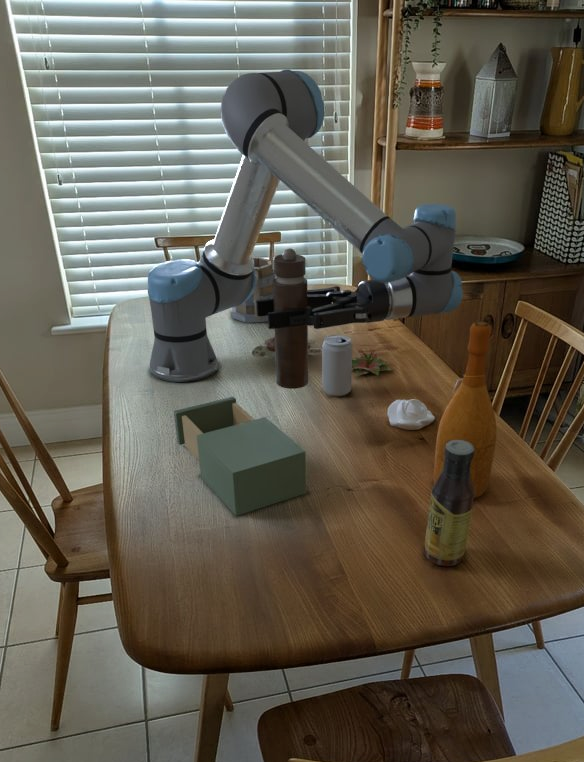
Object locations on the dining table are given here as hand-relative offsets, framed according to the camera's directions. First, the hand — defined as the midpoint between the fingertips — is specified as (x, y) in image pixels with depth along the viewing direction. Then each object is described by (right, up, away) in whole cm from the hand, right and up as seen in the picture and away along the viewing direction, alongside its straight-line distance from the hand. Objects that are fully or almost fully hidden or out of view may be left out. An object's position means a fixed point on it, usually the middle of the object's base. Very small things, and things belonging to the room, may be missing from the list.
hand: (263, 314), depth 127 cm
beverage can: (+13, -8, +33) cm, 36 cm away
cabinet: (-2, -30, +1) cm, 30 cm away
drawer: (-9, -23, +10) cm, 26 cm away
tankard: (-9, +17, +69) cm, 71 cm away
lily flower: (+20, -1, +43) cm, 48 cm away
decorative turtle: (+1, +3, +49) cm, 49 cm away
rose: (+28, -16, +22) cm, 39 cm away
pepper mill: (+5, -10, +9) cm, 15 cm away
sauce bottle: (+29, -42, -15) cm, 53 cm away
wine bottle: (+35, -30, +1) cm, 46 cm away
